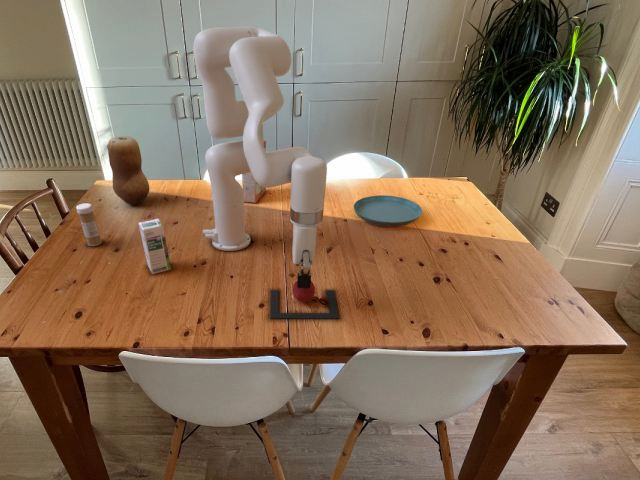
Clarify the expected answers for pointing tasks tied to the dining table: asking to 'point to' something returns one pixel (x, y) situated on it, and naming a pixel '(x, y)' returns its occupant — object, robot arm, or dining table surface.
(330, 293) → the bay
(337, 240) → the dining table surface
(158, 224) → the syrup box
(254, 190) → the cracker box
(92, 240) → the sprinkles bottle
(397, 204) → the saucer
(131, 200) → the butternut squash
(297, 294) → the onion
